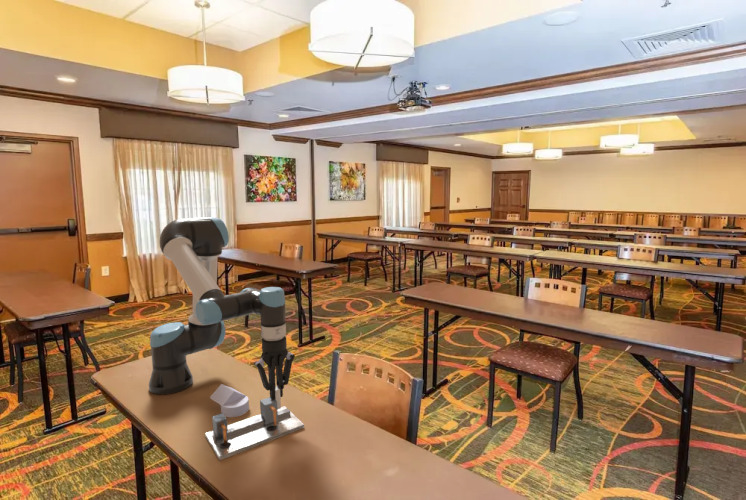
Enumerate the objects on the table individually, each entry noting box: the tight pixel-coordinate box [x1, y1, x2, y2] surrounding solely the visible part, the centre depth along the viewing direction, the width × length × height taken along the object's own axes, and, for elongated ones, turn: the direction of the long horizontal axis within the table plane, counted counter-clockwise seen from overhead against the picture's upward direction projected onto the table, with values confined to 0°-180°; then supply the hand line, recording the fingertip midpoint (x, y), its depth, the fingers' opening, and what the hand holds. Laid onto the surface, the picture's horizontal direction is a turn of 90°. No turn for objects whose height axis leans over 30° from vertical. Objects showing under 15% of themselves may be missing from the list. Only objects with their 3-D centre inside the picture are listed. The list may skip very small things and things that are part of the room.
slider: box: [259, 396, 278, 426], centre depth 129 cm, size 7×4×6 cm, turn 37°
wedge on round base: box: [209, 383, 250, 418], centre depth 141 cm, size 9×7×13 cm
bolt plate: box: [204, 405, 305, 461], centre depth 127 cm, size 14×26×8 cm, turn 127°
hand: (276, 407), depth 132 cm, fingers closed
